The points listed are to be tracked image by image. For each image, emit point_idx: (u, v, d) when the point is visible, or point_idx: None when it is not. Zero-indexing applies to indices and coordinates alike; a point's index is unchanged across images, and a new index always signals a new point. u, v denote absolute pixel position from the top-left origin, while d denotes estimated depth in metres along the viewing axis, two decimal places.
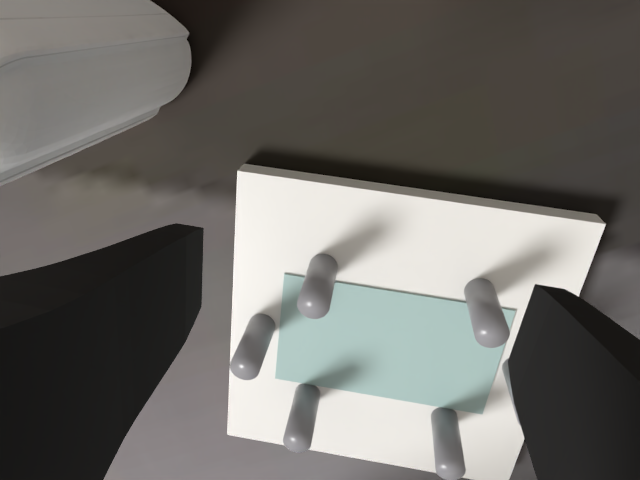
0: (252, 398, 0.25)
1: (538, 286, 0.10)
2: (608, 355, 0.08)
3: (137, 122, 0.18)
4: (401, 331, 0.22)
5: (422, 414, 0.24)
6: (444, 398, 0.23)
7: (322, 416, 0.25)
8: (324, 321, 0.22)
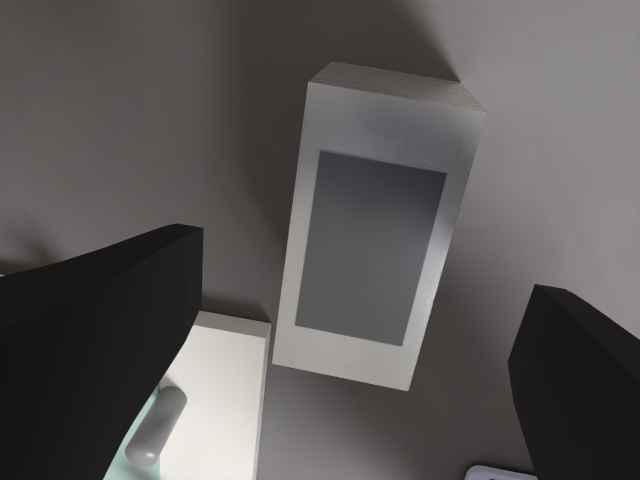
0: None
1: (538, 286, 0.10)
2: (608, 355, 0.08)
3: None
4: None
5: None
6: None
7: None
8: None
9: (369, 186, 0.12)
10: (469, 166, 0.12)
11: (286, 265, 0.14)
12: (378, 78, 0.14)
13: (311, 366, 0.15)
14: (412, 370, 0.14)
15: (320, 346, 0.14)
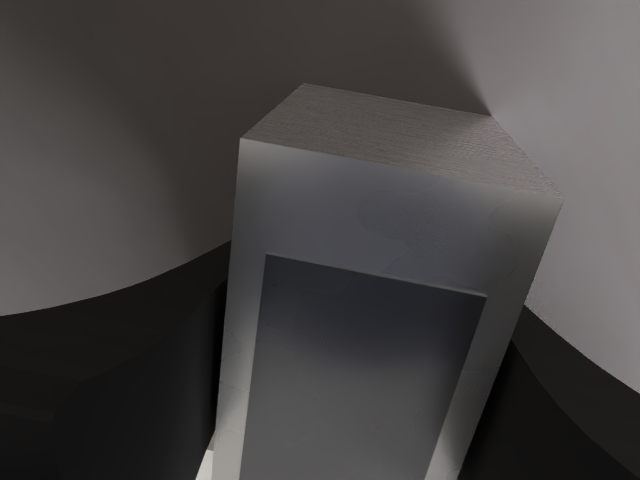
0: None
1: None
2: None
3: None
4: None
5: None
6: None
7: None
8: None
9: (351, 310, 0.07)
10: (527, 287, 0.07)
11: (219, 420, 0.08)
12: (369, 118, 0.09)
13: None
14: None
15: None
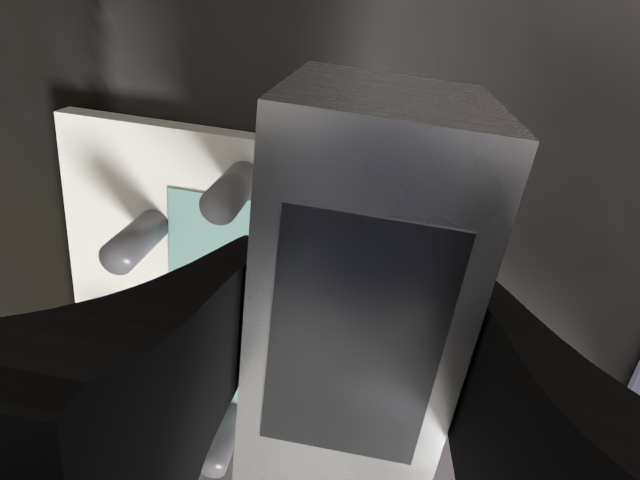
0: None
1: None
2: (505, 337, 0.08)
3: None
4: None
5: None
6: None
7: None
8: None
9: (358, 251, 0.08)
10: (510, 223, 0.08)
11: (242, 359, 0.09)
12: (369, 86, 0.10)
13: None
14: None
15: (297, 461, 0.10)
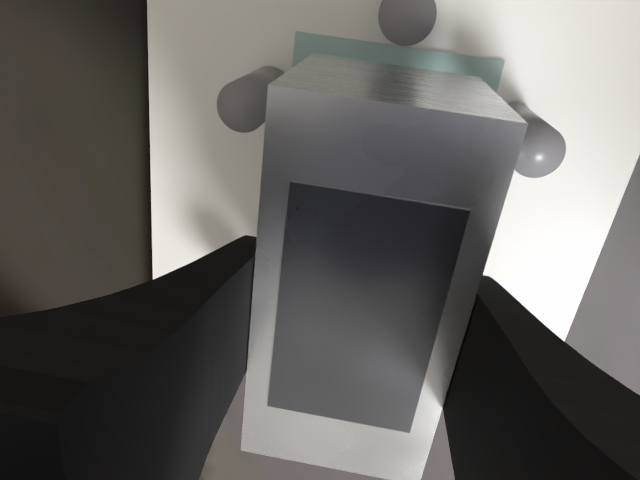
0: None
1: None
2: (505, 337, 0.08)
3: None
4: None
5: None
6: None
7: None
8: None
9: (360, 228, 0.09)
10: (502, 200, 0.08)
11: (252, 331, 0.10)
12: (371, 75, 0.10)
13: (291, 453, 0.11)
14: (424, 460, 0.11)
15: (302, 430, 0.11)
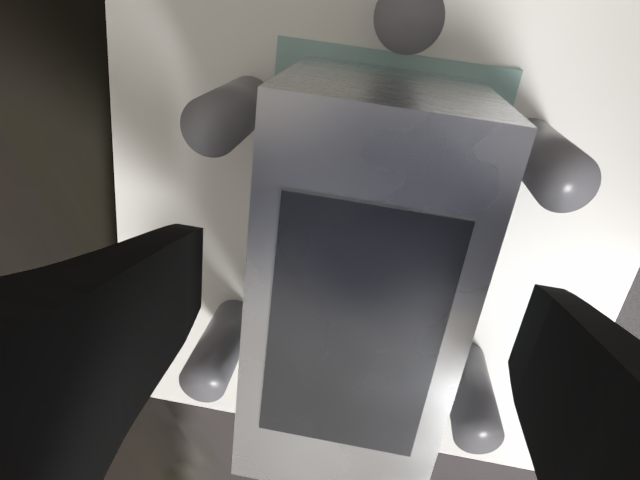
0: None
1: (538, 285, 0.10)
2: (608, 355, 0.08)
3: None
4: None
5: None
6: None
7: None
8: None
9: (357, 240, 0.08)
10: (509, 210, 0.08)
11: (242, 349, 0.09)
12: (369, 78, 0.10)
13: (284, 478, 0.11)
14: None
15: (296, 453, 0.10)
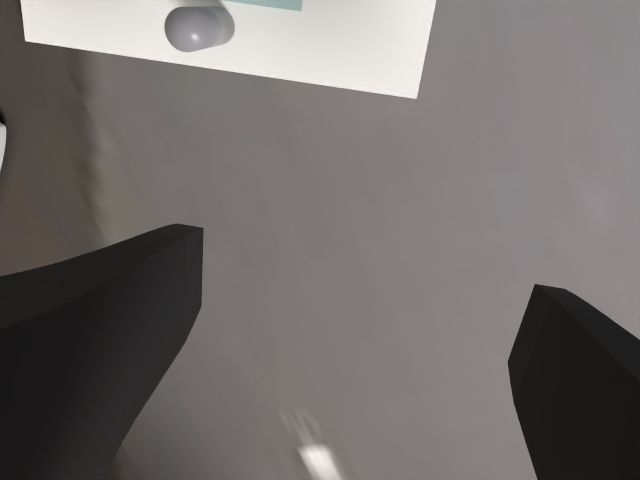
0: (344, 51, 0.17)
1: (538, 285, 0.10)
2: (608, 355, 0.08)
3: None
4: None
5: None
6: None
7: None
8: None
9: None
10: None
11: None
12: None
13: None
14: None
15: None
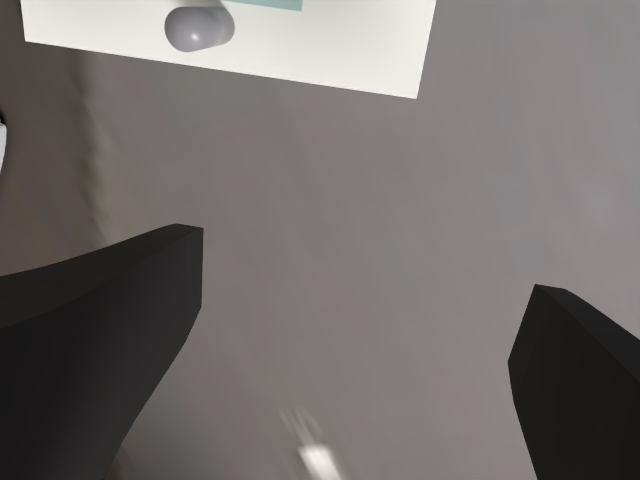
0: (344, 51, 0.17)
1: (538, 285, 0.10)
2: (608, 355, 0.08)
3: None
4: None
5: None
6: None
7: None
8: None
9: None
10: None
11: None
12: None
13: None
14: None
15: None
